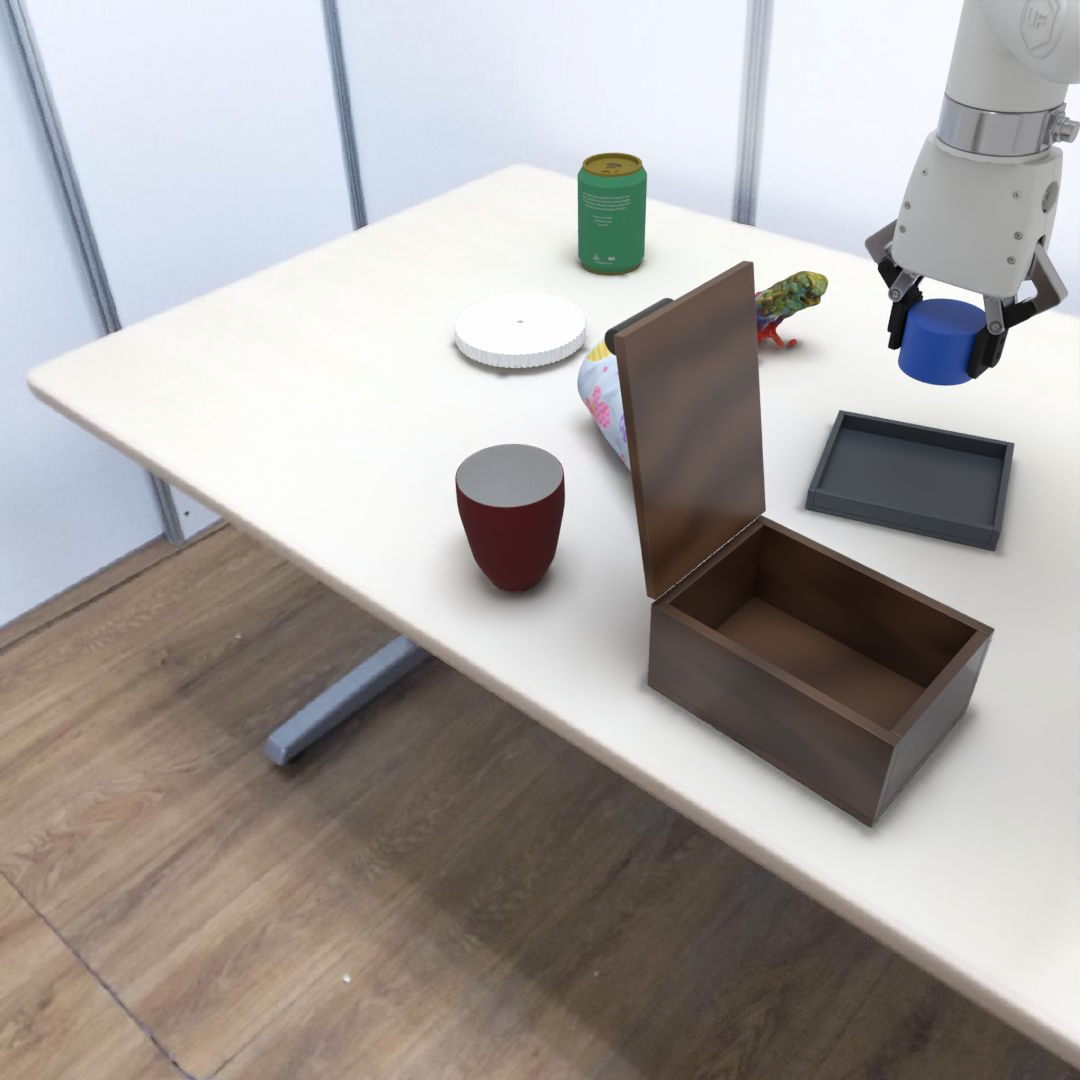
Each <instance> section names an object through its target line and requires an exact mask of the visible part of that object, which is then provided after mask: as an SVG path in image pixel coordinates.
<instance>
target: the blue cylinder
mask: <svg viewBox="0 0 1080 1080" xmlns="http://www.w3.org/2000/svg"><path fill="white" fill-rule="evenodd" d="M985 326H986V315H985V310H983V309H982V308H981V307H979V306H977V305H975V304H972V303H970V302H966V301H963V300H959V299H953V298H937V297H936V298H927V299H923V301H920V302H917V303H916V304H914V305H913V306H912V307H911V308H910V309H909V311H908V316H907V320H906V325H905V330H904V334H903V339H902V343H901V347H900V348H899V352H898V357H897V366H898V368H899V369H900V370H901V371H902V373H903V374H905V375H906V376H907V377H909V378H911V379H913V380H915V381H918V382H920V383H924V384H928V385H932V386H943V387H946V386H947V387H950V386H958V385H963V384H967V383H968V382H970V381H972V380H974V379H973V378H970V377H968V375H967V370H968V367H969V363H970V359H971V355H972V352H973V348H974V344H975V340H976V337H977V334H978V332H979V331H980V330H981V329H982V328H983V327H985Z"/></svg>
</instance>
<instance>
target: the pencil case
mask: <svg viewBox="0 0 1080 1080" xmlns="http://www.w3.org/2000/svg"><path fill="white" fill-rule="evenodd" d="M577 374H578V375H577V381H576V383H577V392H578V395H579V397H580V399H581V400H582V402H583V404H584V405H585V407H586V408H587V409H588V411H589V413H590V415H591V416H592V417H593V419H594V421H595V423H596V425H597V427H598V428H599V430H600V431H601V433H602V435H603V436H604V438H605V439H606V440H607V442H608V443H609V444H610V446H611V447H612V448H613V450H614V451H615V452H616V453H617V454H618V457H620V459H621V461H623V463H624V465H625V466H626V467H627V469H628V470H629V472H630V473H631V468H630V460H629V453H628V445H627V437H626V429H625V422H624V414H623V406H622V398H621V391H620V383H619V375H618V367H617V360H616V356H615V355H613V354H612V353H611V352H610V351H609V350H608V349H607V347H606V345H605V341H604V338H603V339H601V340H599V341H598V342H597V343H596V344H594V346H593V347H591V349H590V350H589V351H588V353H587V354H586V355H585V357H584V359H583V361H582V363H581V365H580V367H579V371H578V373H577Z"/></svg>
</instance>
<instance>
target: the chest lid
mask: <svg viewBox="0 0 1080 1080" xmlns="http://www.w3.org/2000/svg"><path fill="white" fill-rule="evenodd" d="M754 265H755V264H754V261H749V260H742V261H740V262H739V263H737V264H735V265H733V266H731V267H729V268H728V269H727V270H725V271H723V272H721V273H719V274H718V275H716V276H714V277H712V278H711V279H709V280H707V281H706V282H704V283H702V284H700V285H699V286H697V287H695V288H693V289H692V290H690V291H688V292H686V293H685V294H683V295H681V296H680V297H677V298H675V299H673V298H671V297H664V298H662V299H660V300H658V301H656V302H654V303H653V304H650V306H648V307H646V308H644V309H642V310H641V311H639V312H637V313H636V314H633V315H631V316H630V317H628V318H627V319H625V320H623V321H621V322H619V323H618V324H616V325H614V326H613V327H611V328H609V329H607V331H605V333H604V338H603V339H604V341H605V345H606V347H607V349H608V350H609V351H610V352H611V353H612V354H613V355H615V356H616V360H617V367H618V375H619V383H620V391H621V398H622V406H623V414H624V422H625V429H626V437H627V445H628V453H629V460H630V468H631V472H630V475H631V482H632V491H633V498H634V499H633V500H634V506H635V514H636V523H637V531H638V537H639V545H640V552H641V560H642V569H643V576H644V582H645V591H646V592H645V593H646V597H647V598H649V599H652V600H654V601H656V600H657V599H658V598H660V597H661V596H662V595H663V594H665V593H666V592H667V591H668V590H670V589H671V588H672V587H673V586H675V585H676V584H677V583H678V582H679V581H681V580H682V579H683V578H684V577H686V576H687V575H688V574H689V573H690V572H692V571H693V570H694V569H695V568H697V567H698V566H699V565H700V564H702V563H703V562H704V561H705V560H706V559H708V558H709V557H710V556H711V555H713V554H714V553H715V552H716V551H717V550H719V549H720V548H721V547H722V546H724V545H725V544H726V543H727V542H729V541H730V540H731V539H732V538H733V537H735V536H736V535H737V534H738V533H740V532H741V531H742V530H743V529H745V528H746V527H747V526H748V525H749V524H751V523H752V522H753V521H755V519H757V518H758V517H759V516H760V515H763V514H764V513H765V512H766V511H767V505H766V487H765V484H766V483H765V467H764V466H765V465H764V464H765V463H764V448H763V447H764V446H763V445H764V443H763V428H762V427H763V426H762V407H761V387H760V385H761V384H760V367H759V366H760V365H759V348H758V345H759V344H758V342H757V322H756V302H755V294H756V285H755V284H756V283H755V266H754Z"/></svg>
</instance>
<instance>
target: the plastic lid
mask: <svg viewBox="0 0 1080 1080" xmlns="http://www.w3.org/2000/svg"><path fill="white" fill-rule="evenodd" d="M453 325H454V326H453V328H454V329H453V330H454V337H455V338H454V339H455V344H456V347H458V349H459V350H460V352H462V353H463V355H465V356H466V357H467V358H468V357H469V359H470V360H473V361H474V362H478V363H482V364H483V365H487V366H493V367H498V368H504V369H509V368H511V369H515V368H516V369H520V368H523V369H526V368H533V367H536V368H537V367H539V366H545V365H550V364H554V363H556V362H560V361H561V360H565V358H568V357H570V355H573V354H574V353H577V350H580V348H581V347H582V346H583V344H584V343H585V342H586V338H587V327H588V326H587V315H586V314H585V312H584V310H583V309H582V308H581V307H580V305H577V303H575V302H573V301H572V300H570V299H568V298H565V297H561V296H560V295H556V294H551V293H546V292H540V291H537V292H536V291H515V292H513V291H510V292H504V293H499V294H494V295H493V296H492V295H489V296H488V297H483V299H481V298H480V299H479V300H476V301H475V302H472V303H470V305H467V307H464V308H463V310H461V311H460V312H459V313H458V315H457V316H456V318H455V320H454V323H453Z"/></svg>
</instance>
